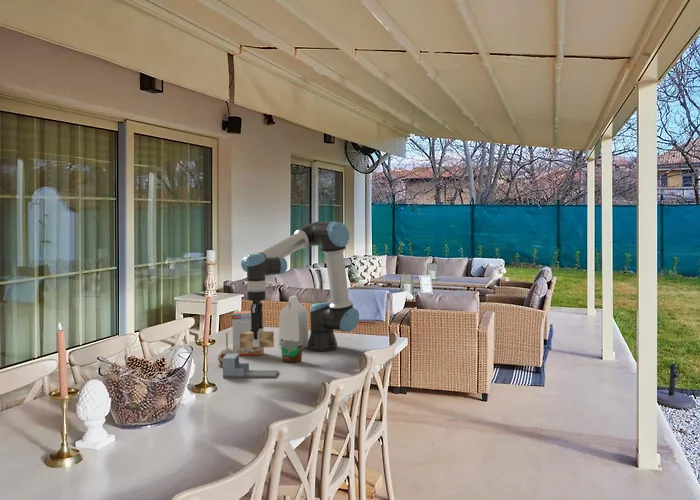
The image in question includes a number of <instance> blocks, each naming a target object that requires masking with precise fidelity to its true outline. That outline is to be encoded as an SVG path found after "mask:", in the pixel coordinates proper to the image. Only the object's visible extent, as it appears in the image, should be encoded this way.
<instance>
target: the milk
mask: <svg viewBox="0 0 700 500" xmlns="http://www.w3.org/2000/svg"><path fill="white" fill-rule="evenodd" d="M278 319H279V324H278V347H277V348H278V350H281V345H279V343H280V339H282V338H283V340H286V341H290V340H293V341H296V342H297V341H302V340H303V343H304V345H303V346H302V350H303V349H305V348H308V341H309V327H308V310H307V308H306V307H305V306H304V305H303V304H302V303H301V302H300V301H299V300H298V297H297V295H292V296H289V298H288V303H287V304H286V305H285V306H284V307H282V309H281V310H280V312H279V318H278Z"/></svg>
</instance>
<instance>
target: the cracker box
mask: <svg viewBox="0 0 700 500" xmlns="http://www.w3.org/2000/svg"><path fill="white" fill-rule="evenodd" d="M263 314H264V311H263V310H262V324H263V325H262V326H263V328H261V329H262V332H263V331H264V315H263ZM231 316H232V318H231V321H232V323H231V324H232V325H231V326H232V350H233V351H234V352H235V354H239V356H262V355H264V353H265V352H264V351H265V347H261V348H240V332H251V310H249V311H248V310H243V311H242V310H241V311H239V310H237V311H233V312H232V313H231Z"/></svg>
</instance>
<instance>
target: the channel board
mask: <svg viewBox="0 0 700 500" xmlns="http://www.w3.org/2000/svg"><path fill="white" fill-rule="evenodd" d="M278 374H279V370H278V369H277V370H275V369H273V370H271V369H270V370H269V369H268V370H267V369H265V370H264V369H263V370H262V369H257V370H256V369H254V370H253V369H252V370H251V369H250V363H249V362H240V355H239V354H227V355H225V356H224V357H223V367H222V379H276V378H277V376H278Z"/></svg>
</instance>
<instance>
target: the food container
mask: <svg viewBox="0 0 700 500" xmlns="http://www.w3.org/2000/svg"><path fill="white" fill-rule="evenodd" d="M278 345H281V349H280V350H281V359H282V363H284V364H296V363H297V364H298V363H301V362H302V359H303V357H302V356H303V349H302V346H303V345H304V343H303V340H302V341H297V342H296V341H293V340H290V341H286V340H283V338H282V339H280V343H279V342H278Z"/></svg>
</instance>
